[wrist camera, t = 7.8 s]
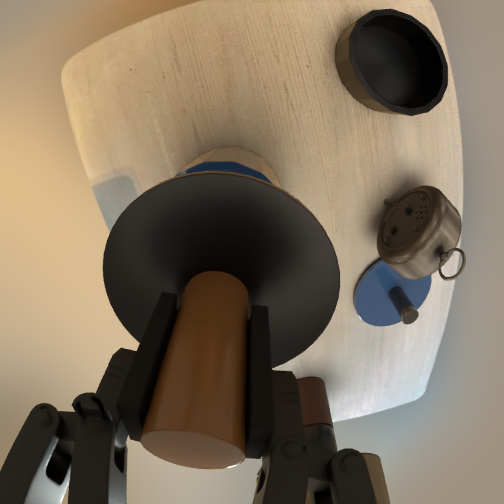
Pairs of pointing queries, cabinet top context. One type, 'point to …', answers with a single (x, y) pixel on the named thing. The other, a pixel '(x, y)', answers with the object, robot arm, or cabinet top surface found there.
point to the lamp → (332, 432)
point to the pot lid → (389, 296)
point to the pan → (392, 63)
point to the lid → (217, 300)
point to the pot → (233, 164)
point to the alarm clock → (420, 233)
